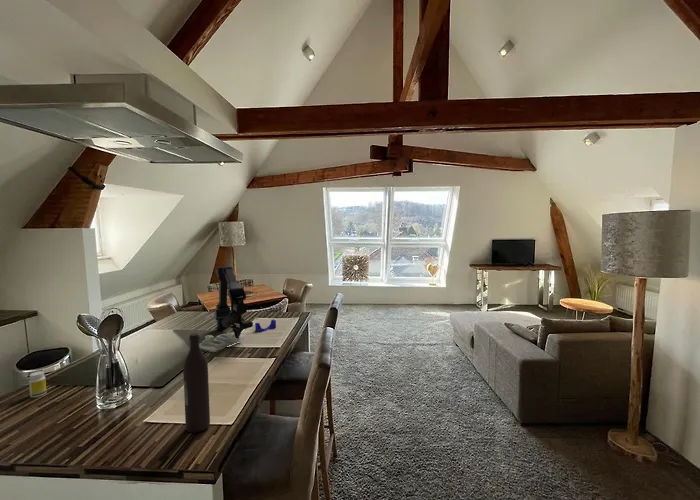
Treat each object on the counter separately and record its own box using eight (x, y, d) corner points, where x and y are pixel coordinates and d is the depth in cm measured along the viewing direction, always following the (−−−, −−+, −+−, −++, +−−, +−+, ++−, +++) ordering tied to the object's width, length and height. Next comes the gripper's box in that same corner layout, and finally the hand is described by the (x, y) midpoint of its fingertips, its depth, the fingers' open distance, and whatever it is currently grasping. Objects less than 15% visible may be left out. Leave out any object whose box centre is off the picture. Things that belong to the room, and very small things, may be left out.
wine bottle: (198, 418, 113) (194, 330, 111) (214, 423, 110) (211, 332, 108) (180, 430, 106) (176, 336, 104) (197, 435, 104) (194, 339, 102)
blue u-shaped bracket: (258, 334, 200) (258, 324, 200) (255, 332, 204) (255, 323, 204) (277, 330, 208) (276, 320, 208) (273, 328, 212) (273, 319, 211)
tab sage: (205, 342, 182) (204, 335, 182) (209, 341, 184) (209, 334, 184) (210, 344, 180) (209, 336, 180) (214, 342, 182) (213, 335, 182)
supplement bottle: (49, 392, 132) (48, 371, 131) (35, 398, 127) (34, 376, 126) (40, 391, 133) (39, 370, 132) (26, 396, 128) (24, 375, 128)
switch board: (193, 347, 179) (193, 343, 179) (227, 336, 198) (227, 331, 198) (213, 353, 171) (213, 348, 171) (247, 340, 190) (247, 335, 190)
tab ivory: (227, 340, 186) (227, 333, 186) (231, 338, 188) (231, 331, 188) (232, 341, 184) (232, 334, 184) (236, 339, 186) (236, 332, 186)
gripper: (212, 311, 181) (213, 339, 182) (236, 315, 171) (237, 346, 173) (229, 306, 190) (230, 334, 192) (253, 310, 181) (254, 339, 182)
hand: (237, 338), depth 184 cm, fingers closed
